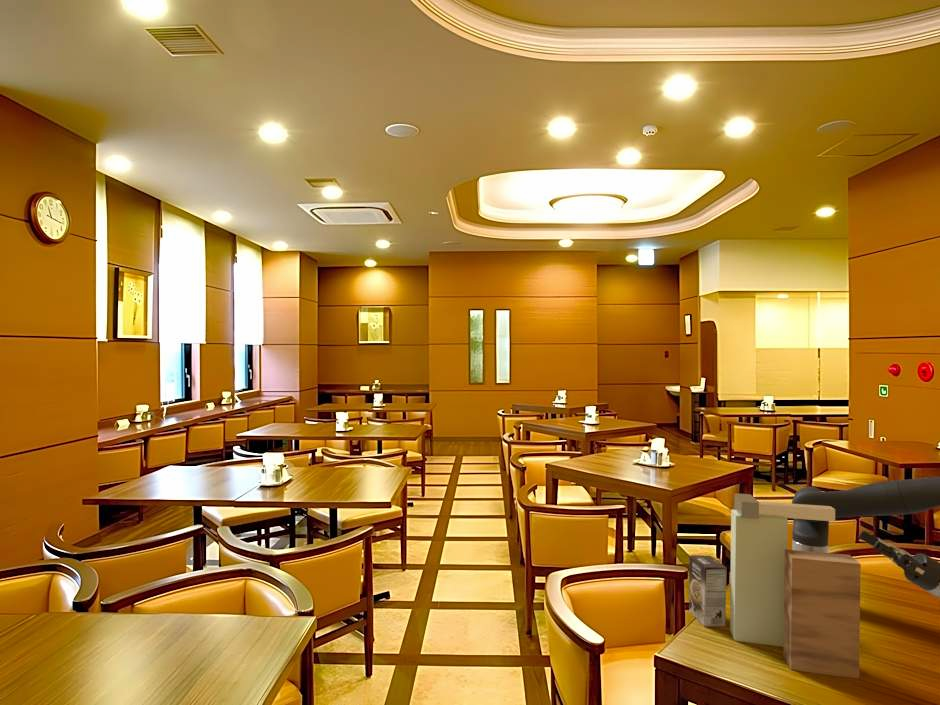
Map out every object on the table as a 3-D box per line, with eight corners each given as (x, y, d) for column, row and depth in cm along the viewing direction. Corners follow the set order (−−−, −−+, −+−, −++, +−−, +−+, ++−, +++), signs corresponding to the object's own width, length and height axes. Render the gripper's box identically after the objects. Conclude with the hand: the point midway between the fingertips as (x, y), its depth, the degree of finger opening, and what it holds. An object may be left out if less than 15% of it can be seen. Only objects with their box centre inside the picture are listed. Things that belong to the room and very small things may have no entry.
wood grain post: (783, 656, 138) (784, 549, 138) (848, 664, 134) (849, 555, 134) (790, 669, 132) (792, 557, 132) (859, 678, 129) (860, 564, 129)
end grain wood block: (734, 508, 152) (734, 493, 152) (826, 514, 147) (826, 499, 147) (741, 517, 143) (741, 501, 143) (839, 525, 138) (839, 508, 138)
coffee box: (687, 611, 161) (688, 554, 161) (709, 611, 162) (710, 554, 162) (703, 627, 152) (704, 567, 152) (726, 626, 153) (727, 566, 153)
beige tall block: (729, 629, 151) (731, 509, 151) (779, 635, 148) (781, 513, 148) (734, 640, 145) (735, 515, 145) (786, 647, 142) (787, 519, 142)
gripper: (927, 554, 144) (863, 518, 147) (960, 575, 130) (890, 535, 133) (910, 578, 144) (847, 542, 148) (941, 602, 131) (871, 561, 134)
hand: (867, 538), depth 141 cm, fingers open, 8 cm apart
